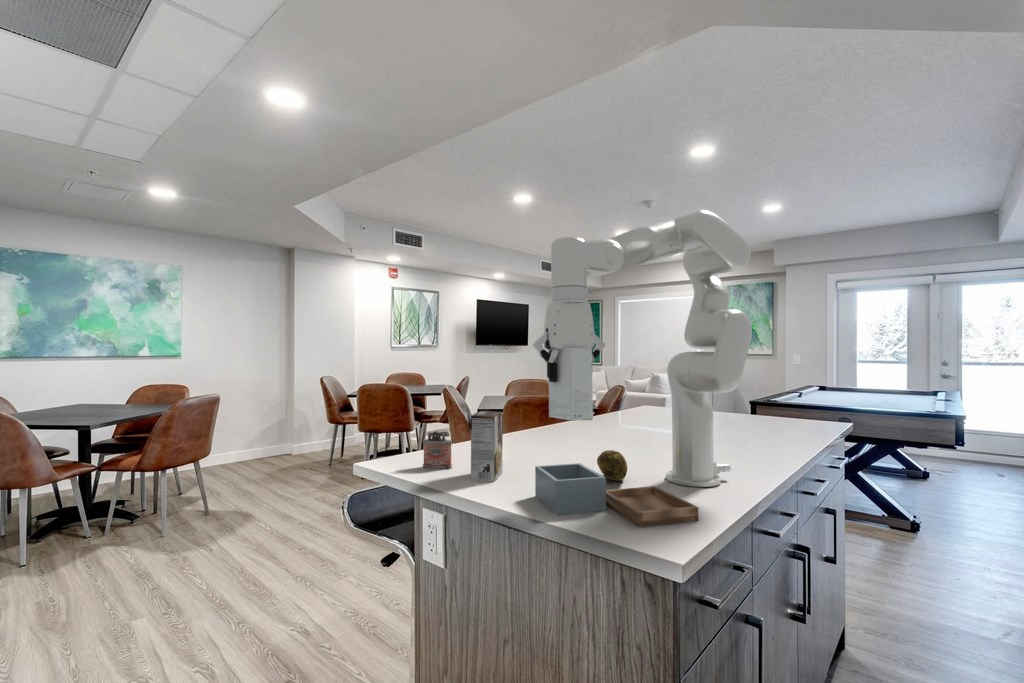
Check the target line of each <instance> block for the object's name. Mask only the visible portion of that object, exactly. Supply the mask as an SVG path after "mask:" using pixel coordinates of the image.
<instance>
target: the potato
mask: <svg viewBox="0 0 1024 683" xmlns="http://www.w3.org/2000/svg"><path fill="white" fill-rule="evenodd" d="M596 462H597V466H598V468H599V470H600V472H601V474H603V476H604V477H606V479H607V478H608V479H609V480H611V481H615V482H619V481H620V482H621V481H622V480H624V479H625V478H626V477H627V473H628V463H627V460H626V458H625V456H624V455H623V454H622V453H621V452H619V451H616V450H612V449H611V450H610V449H609V450H608V449H607V450H604V451H602V452H601V454H600V455H598V457H597V459H596Z"/></svg>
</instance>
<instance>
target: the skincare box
mask: <svg viewBox="0 0 1024 683" xmlns="http://www.w3.org/2000/svg"><path fill="white" fill-rule="evenodd" d="M547 350H548V349H547ZM592 350H593V348H592V349H591V348H564V349H563V350H559V352H558V354H557V357H556V359H555V363H557V382H549V381H548V418H554V419H560V420H566V421H571V422H574V421H593V418H594V406H593V362H592ZM548 351H549V350H548ZM548 351H547V352H548Z"/></svg>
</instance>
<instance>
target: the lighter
mask: <svg viewBox="0 0 1024 683" xmlns="http://www.w3.org/2000/svg"><path fill="white" fill-rule="evenodd" d="M450 435H451V434H450V432H449V431H444V430H443V431H439V430H433V431H427V438H426V439H423V440H422V443H423V463H422V468H423V469H428V470H451V469H452V468H453V465H452V444H453V440H452V439H446V437H447V438H449V437H450Z"/></svg>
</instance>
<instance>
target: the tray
mask: <svg viewBox="0 0 1024 683" xmlns="http://www.w3.org/2000/svg"><path fill="white" fill-rule="evenodd" d="M606 507H608V508H609V509H611V510H612V511H614V512H615V513H617V514H618V515H620V516H621V517H622V518H624V519H625V520H627V521H629V523H632V524H633V525H634V526H635V527H637V528H643V527H644V528H645V527H652V526H654V527H655V526H662V525H663V526H664V525H673V524H682V523H689V522H698V521H700V520H699V518H700V517H699V512H700V511H699V506H697V505H695V504H694V503H691V502H688V501H686V500H684V499H682V498H680V497H678V496H677V495H674V494H672V493H670V492H668V491H666V490H664V489H662V488H660V487H657V486H655V485H651V486H643V487H642V486H641V487H629V488H617V489H606Z"/></svg>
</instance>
